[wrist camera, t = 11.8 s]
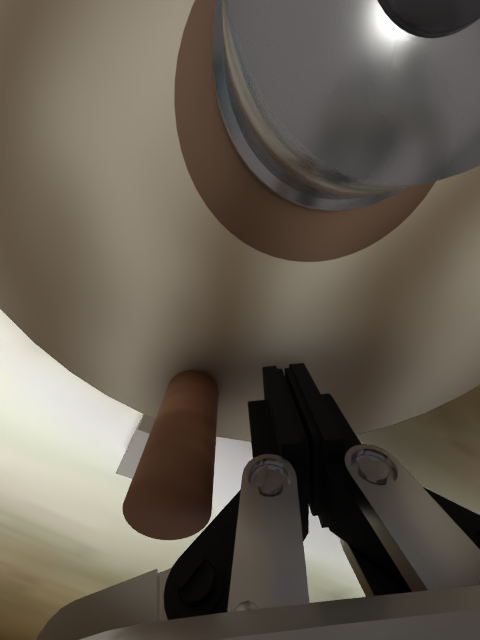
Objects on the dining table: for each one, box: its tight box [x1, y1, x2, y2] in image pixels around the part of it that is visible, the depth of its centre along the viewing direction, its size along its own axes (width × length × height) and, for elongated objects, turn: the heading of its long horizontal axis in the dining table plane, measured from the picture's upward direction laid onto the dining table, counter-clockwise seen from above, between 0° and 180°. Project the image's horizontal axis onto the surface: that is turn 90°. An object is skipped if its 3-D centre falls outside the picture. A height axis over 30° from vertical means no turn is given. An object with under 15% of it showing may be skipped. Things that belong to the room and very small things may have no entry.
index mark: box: [116, 414, 156, 479], centre depth 13 cm, size 3×1×2 cm, turn 152°
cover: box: [212, 0, 480, 212], centre depth 6 cm, size 8×8×4 cm
